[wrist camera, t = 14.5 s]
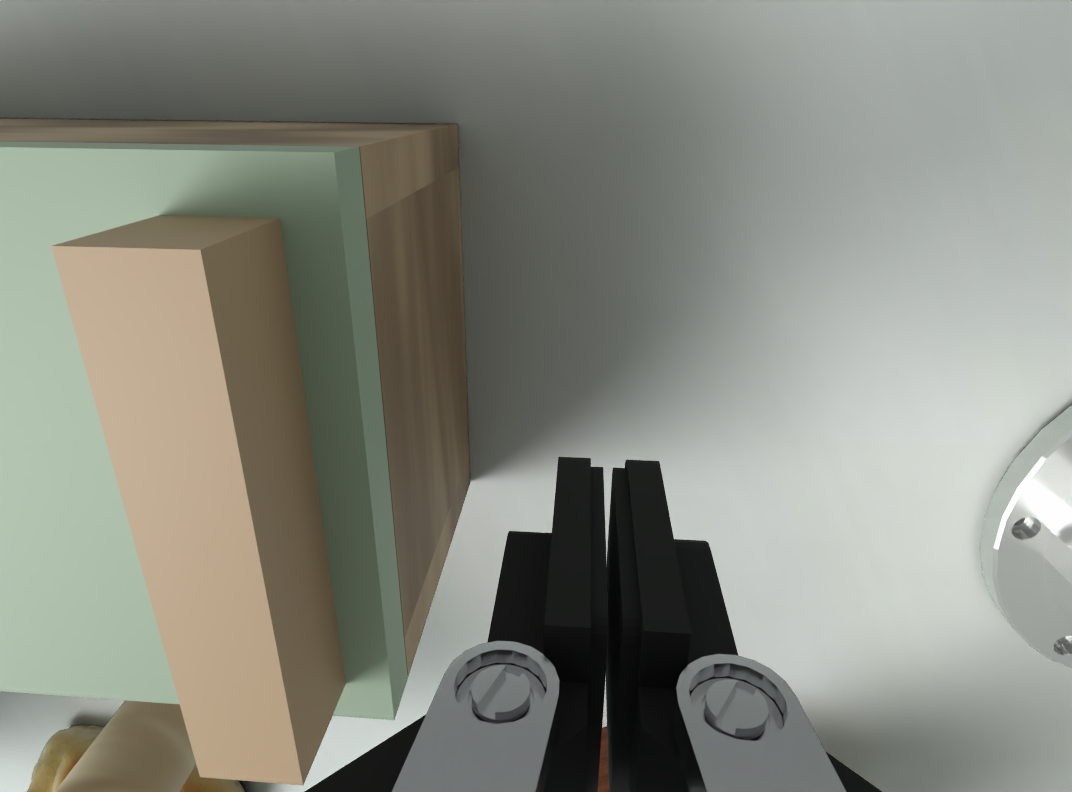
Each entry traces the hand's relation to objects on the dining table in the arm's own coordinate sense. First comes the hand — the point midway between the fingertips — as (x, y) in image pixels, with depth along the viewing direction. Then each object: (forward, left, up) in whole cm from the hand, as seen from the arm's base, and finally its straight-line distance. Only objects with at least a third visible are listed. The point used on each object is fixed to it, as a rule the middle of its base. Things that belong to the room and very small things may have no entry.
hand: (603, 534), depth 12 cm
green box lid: (+14, 0, -2) cm, 14 cm away
